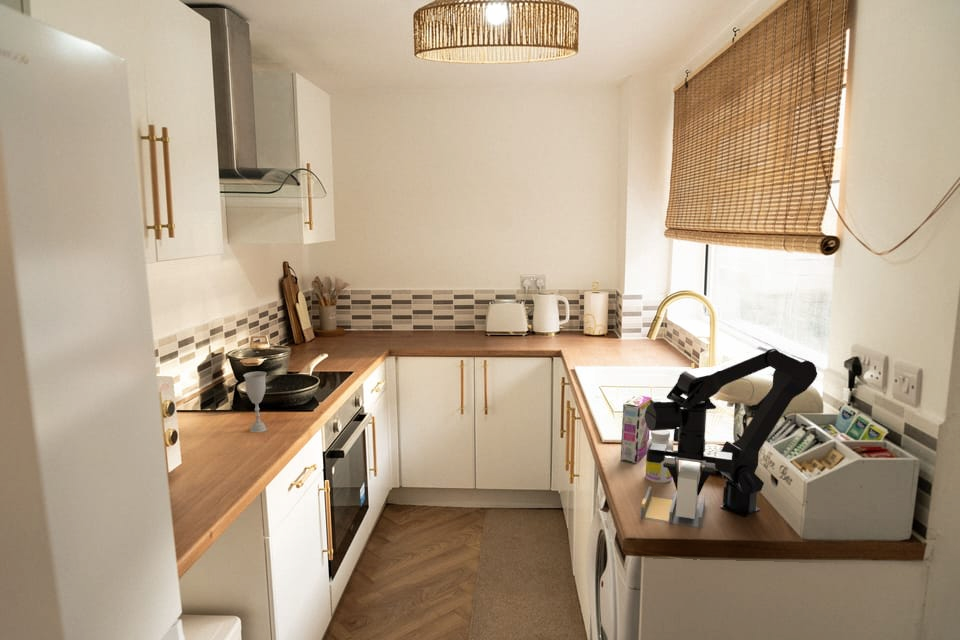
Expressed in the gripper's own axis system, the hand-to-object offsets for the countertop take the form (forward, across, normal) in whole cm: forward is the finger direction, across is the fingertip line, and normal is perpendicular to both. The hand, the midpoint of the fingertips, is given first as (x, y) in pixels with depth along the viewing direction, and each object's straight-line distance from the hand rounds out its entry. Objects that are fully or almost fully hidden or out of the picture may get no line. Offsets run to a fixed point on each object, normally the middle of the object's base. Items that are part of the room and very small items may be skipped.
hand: (688, 493), depth 156 cm
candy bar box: (+6, +17, -32) cm, 37 cm away
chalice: (+6, +130, -12) cm, 131 cm away
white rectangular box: (+3, 0, 0) cm, 3 cm away
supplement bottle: (+6, +9, -18) cm, 21 cm away
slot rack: (+5, +3, 0) cm, 6 cm away
